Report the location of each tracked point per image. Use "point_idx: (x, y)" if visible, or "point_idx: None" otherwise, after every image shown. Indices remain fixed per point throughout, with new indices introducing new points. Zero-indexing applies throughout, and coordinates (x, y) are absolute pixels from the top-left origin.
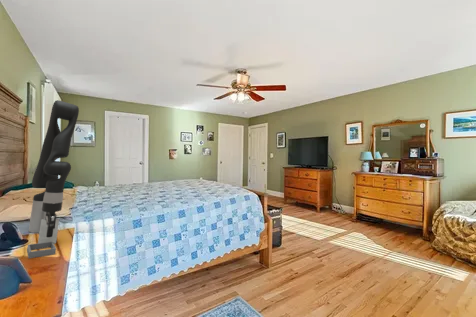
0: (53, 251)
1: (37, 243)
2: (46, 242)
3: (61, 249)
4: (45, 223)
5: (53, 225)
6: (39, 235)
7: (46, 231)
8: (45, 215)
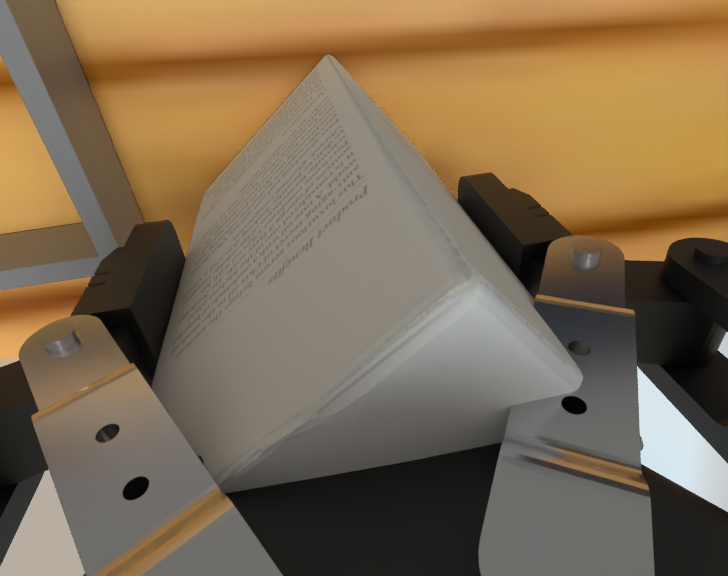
0: None
1: (32, 67)
2: (88, 198)
3: (26, 322)
4: (269, 336)
5: (5, 505)
6: (337, 93)
7: (233, 249)
8: (598, 559)
